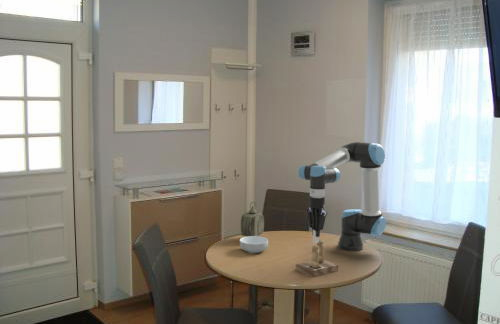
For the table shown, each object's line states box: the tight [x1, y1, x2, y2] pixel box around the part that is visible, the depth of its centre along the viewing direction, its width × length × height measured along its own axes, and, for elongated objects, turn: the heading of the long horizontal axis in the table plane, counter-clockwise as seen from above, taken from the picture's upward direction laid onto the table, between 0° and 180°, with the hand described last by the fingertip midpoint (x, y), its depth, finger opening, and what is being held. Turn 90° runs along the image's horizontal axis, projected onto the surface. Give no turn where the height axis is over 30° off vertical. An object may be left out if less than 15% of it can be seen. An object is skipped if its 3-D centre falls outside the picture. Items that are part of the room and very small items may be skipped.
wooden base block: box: [294, 239, 339, 278], centre depth 259 cm, size 18×13×14 cm
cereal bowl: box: [239, 235, 269, 254], centre depth 292 cm, size 17×17×7 cm
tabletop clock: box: [240, 201, 265, 237], centre depth 312 cm, size 14×9×25 cm, turn 150°
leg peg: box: [311, 245, 319, 269], centre depth 255 cm, size 4×4×14 cm
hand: (315, 242), depth 254 cm, fingers closed
